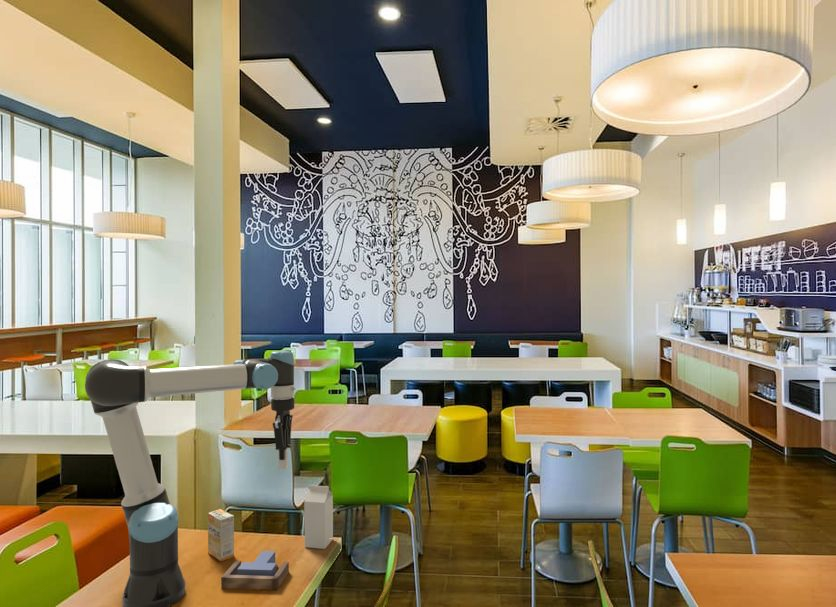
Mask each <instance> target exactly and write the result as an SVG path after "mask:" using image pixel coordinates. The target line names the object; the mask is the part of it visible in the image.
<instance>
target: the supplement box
mask: <svg viewBox="0 0 836 607" xmlns="http://www.w3.org/2000/svg"><path fill="white" fill-rule="evenodd" d="M234 539H235V516H234V514H231V513H230V512H228V511H226V510H223V509H222V508H219V509H216V510H213V511H210V512H208V513H207V553H208V554H209V555H211V556H212V557H214V558H215V559H217V560H218V561H219V562H223V561H225V560H226V561H227V560H228V559H231V558H233V557H234V556H235V540H234ZM230 557H231V558H230Z"/></svg>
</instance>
